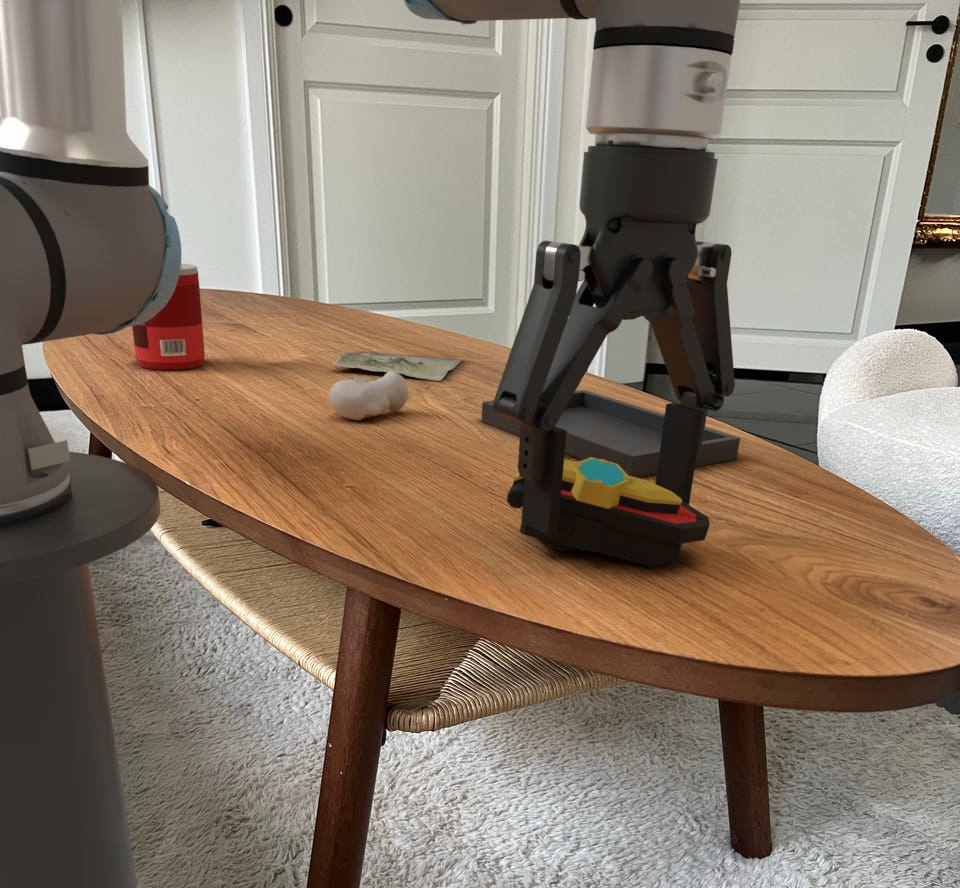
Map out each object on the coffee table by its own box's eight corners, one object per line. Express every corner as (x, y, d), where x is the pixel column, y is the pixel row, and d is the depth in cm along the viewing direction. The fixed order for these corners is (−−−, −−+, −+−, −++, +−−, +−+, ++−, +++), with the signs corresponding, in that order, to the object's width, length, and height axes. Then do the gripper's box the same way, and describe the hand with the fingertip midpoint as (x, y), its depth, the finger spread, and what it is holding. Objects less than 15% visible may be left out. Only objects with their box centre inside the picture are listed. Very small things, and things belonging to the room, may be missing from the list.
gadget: (691, 594, 61) (718, 515, 58) (495, 542, 62) (513, 462, 59) (689, 558, 66) (714, 485, 64) (510, 511, 67) (527, 438, 65)
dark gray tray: (481, 421, 94) (481, 401, 93) (582, 408, 101) (584, 389, 101) (630, 479, 79) (633, 456, 78) (736, 459, 86) (740, 437, 85)
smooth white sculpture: (341, 435, 91) (321, 408, 94) (414, 427, 95) (393, 401, 98) (345, 396, 88) (324, 369, 91) (420, 389, 92) (399, 363, 95)
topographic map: (440, 381, 110) (441, 367, 110) (329, 368, 112) (330, 354, 111) (461, 365, 122) (462, 352, 122) (362, 353, 124) (362, 340, 123)
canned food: (218, 363, 113) (211, 266, 108) (174, 373, 107) (164, 271, 102) (168, 355, 116) (159, 260, 111) (122, 365, 110) (110, 264, 105)
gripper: (528, 130, 44) (500, 564, 53) (835, 156, 56) (767, 503, 66) (440, 129, 49) (429, 524, 59) (738, 153, 62) (688, 475, 71)
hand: (608, 513), depth 62 cm, fingers closed on gadget, 11 cm apart
